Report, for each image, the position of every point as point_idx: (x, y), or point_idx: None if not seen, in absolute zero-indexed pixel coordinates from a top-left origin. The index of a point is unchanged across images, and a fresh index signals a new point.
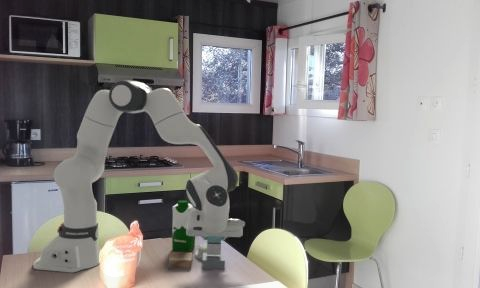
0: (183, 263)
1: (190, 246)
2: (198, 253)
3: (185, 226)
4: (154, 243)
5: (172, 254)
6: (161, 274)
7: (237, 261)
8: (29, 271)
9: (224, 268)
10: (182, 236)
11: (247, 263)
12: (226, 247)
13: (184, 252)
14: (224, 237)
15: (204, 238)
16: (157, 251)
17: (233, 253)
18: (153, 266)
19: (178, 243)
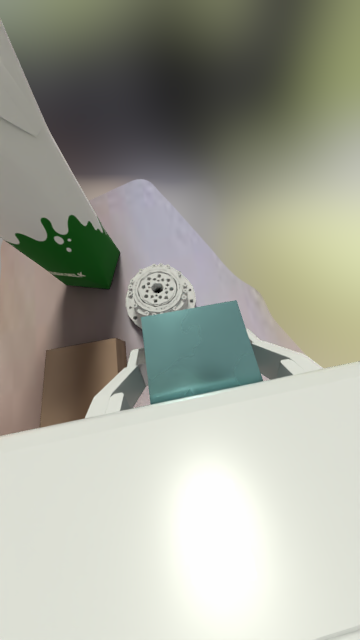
0: None
1: (106, 276)
2: (135, 311)
3: (33, 232)
4: None
5: (51, 370)
6: None
7: (245, 322)
8: None
9: None
10: (58, 265)
11: (274, 331)
12: (196, 241)
13: (90, 343)
14: (261, 371)
15: (142, 386)
16: (28, 299)
17: (221, 273)
18: (16, 415)
19: (66, 277)
